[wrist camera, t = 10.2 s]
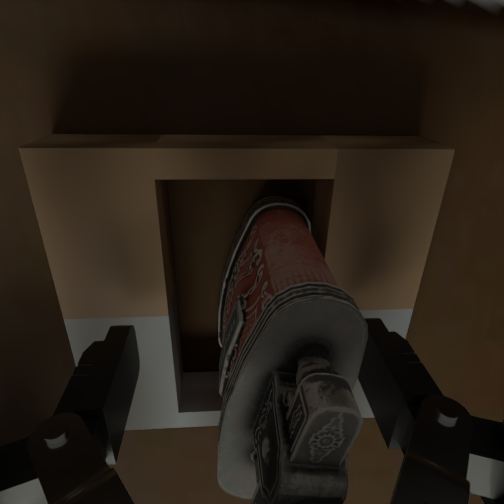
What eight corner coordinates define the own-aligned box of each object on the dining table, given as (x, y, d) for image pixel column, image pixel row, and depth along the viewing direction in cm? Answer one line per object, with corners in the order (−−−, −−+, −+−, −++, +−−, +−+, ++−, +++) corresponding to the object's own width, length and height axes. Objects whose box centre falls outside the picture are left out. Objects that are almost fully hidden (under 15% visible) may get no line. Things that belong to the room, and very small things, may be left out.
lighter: (244, 188, 15) (279, 368, 6) (322, 205, 16) (455, 391, 7) (206, 340, 19) (194, 597, 10) (271, 349, 19) (316, 599, 10)
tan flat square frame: (419, 136, 15) (455, 149, 12) (367, 378, 21) (384, 416, 18) (51, 133, 14) (18, 147, 11) (107, 389, 20) (93, 431, 17)
